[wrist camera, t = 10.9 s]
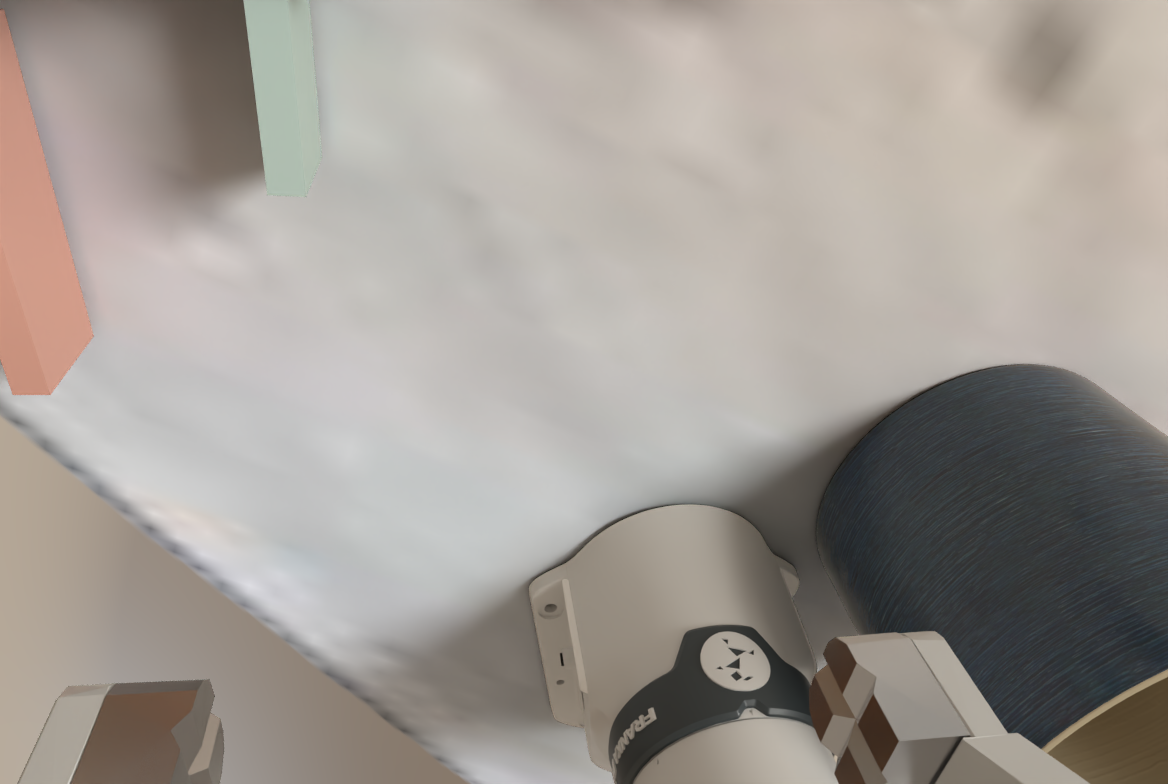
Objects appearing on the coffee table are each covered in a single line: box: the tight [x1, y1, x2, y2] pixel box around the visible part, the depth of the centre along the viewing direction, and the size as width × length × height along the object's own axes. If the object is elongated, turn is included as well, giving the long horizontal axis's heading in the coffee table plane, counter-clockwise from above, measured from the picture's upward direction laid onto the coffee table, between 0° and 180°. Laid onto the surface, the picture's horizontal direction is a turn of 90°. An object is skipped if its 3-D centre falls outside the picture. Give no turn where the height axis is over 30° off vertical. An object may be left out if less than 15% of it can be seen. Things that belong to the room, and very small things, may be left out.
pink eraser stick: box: [0, 9, 94, 395], centre depth 31 cm, size 14×1×5 cm, turn 174°
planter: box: [816, 364, 1168, 784], centre depth 45 cm, size 22×22×20 cm
